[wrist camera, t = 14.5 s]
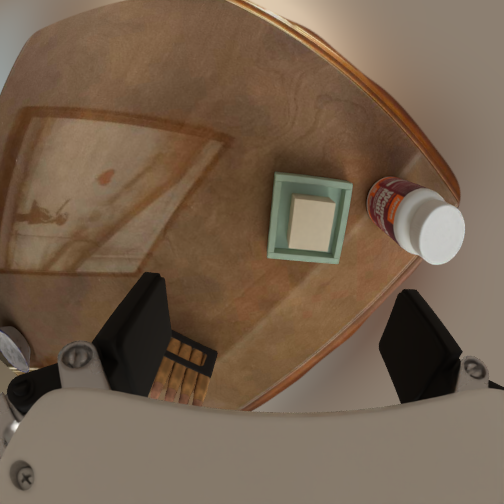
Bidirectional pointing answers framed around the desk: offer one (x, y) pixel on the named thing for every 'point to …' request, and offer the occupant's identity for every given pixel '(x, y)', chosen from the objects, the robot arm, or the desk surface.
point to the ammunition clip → (185, 370)
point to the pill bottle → (416, 219)
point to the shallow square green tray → (281, 209)
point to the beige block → (310, 222)
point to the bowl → (15, 348)
